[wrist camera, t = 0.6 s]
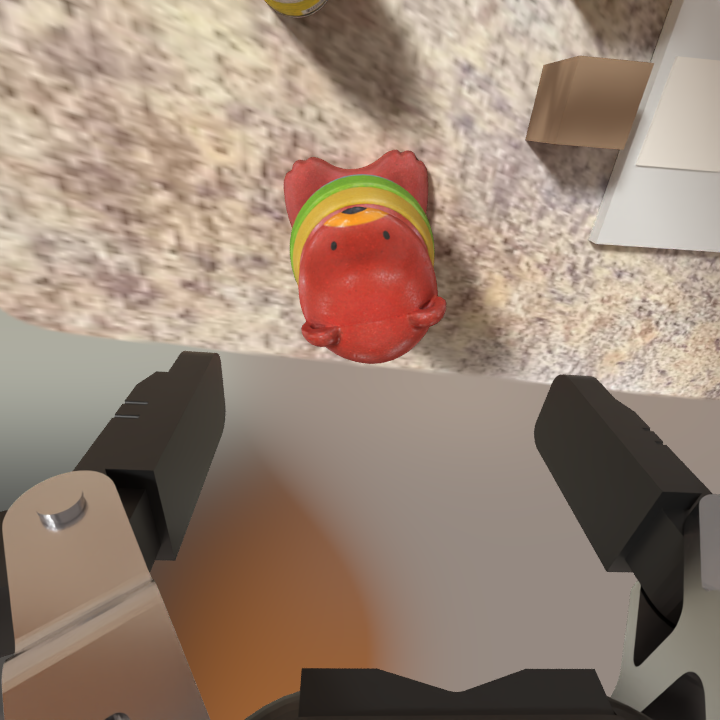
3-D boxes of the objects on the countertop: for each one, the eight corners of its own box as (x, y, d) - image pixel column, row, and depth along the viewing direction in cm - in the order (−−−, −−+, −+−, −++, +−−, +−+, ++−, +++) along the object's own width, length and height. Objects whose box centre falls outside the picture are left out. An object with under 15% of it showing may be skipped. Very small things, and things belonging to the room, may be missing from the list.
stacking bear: (426, 146, 30) (512, 177, 15) (425, 279, 35) (489, 404, 20) (279, 159, 30) (213, 203, 15) (300, 289, 35) (266, 422, 20)
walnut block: (543, 65, 28) (579, 55, 24) (606, 71, 28) (654, 63, 24) (525, 140, 30) (555, 144, 26) (584, 145, 30) (623, 149, 26)
